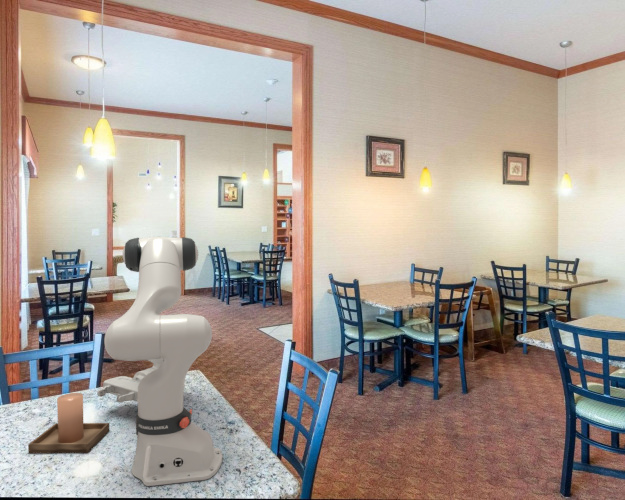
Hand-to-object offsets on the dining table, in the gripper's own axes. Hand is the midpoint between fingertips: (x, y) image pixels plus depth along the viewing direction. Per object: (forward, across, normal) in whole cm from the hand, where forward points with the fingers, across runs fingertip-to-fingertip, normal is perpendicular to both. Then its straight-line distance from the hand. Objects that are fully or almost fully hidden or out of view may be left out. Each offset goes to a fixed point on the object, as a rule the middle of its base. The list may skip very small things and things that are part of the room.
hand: (108, 396), depth 134 cm
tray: (+12, 0, +9) cm, 15 cm away
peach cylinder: (+12, 0, +8) cm, 14 cm away
